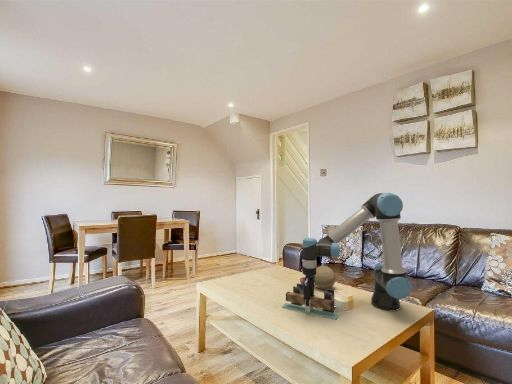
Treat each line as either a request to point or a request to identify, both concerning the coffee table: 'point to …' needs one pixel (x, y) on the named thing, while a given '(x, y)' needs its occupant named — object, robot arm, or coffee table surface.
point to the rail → (314, 301)
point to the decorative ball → (324, 277)
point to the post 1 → (299, 290)
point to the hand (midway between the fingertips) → (309, 309)
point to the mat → (313, 311)
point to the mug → (304, 280)
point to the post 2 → (329, 298)
